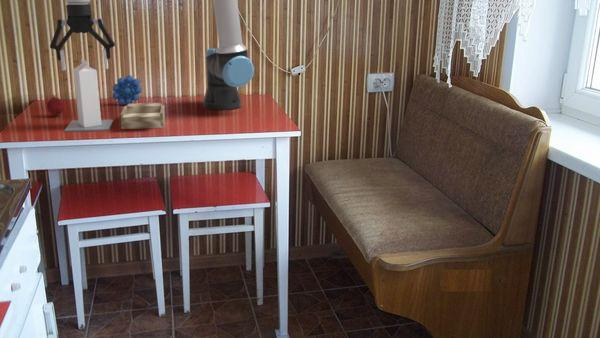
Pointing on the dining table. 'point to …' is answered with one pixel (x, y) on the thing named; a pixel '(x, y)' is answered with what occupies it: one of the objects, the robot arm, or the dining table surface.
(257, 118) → the dining table surface
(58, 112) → the onion
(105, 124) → the plate
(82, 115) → the milk
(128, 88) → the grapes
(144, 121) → the crate
